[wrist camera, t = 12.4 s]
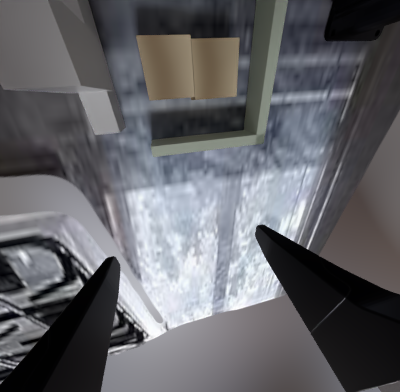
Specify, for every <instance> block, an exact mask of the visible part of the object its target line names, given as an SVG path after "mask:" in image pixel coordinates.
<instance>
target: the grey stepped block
mask: <svg viewBox="0 0 400 392" xmlns="http://www.w3.org/2000/svg"><path fill="white" fill-rule="evenodd" d="M0 84H1V86H2V87H3V89H4V90H20V91H39V92H58V93H78V94H79V96H80V99H81V101H82V103H83V106H84V108H85V111H86V113H87V116H88V118H89V121H90V123H91V125H92V128H93V130H94V133H95V135H99V134H110V133H120V132H121V131H122V130H123V129H124V128H126V126H125V123H124V119H123V116H122V113H121V109H120V106H119V102H118V99H117V96H116V92H115V89H114V86H113V82H112V79H111V75H110V72H109V69H108V65H107V62H106V59H105V55H104V52H103V49H102V45H101V42H100V38H99V35H98V32H97V28H96V25H95V22H94V18H93V15H92V11H91V8H90V5H89V1H88V0H0Z"/></svg>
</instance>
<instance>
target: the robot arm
mask: <svg viewBox="0 0 400 392" xmlns="http://www.w3.org/2000/svg"><path fill="white" fill-rule="evenodd" d="M398 21H400V0H335V1H334V5H333V9H332V12H331V16H330V19H329V23H328V26H327V30H326V33H325V40H326V41H372V40H376V39H377V38H378V37H379V36H380V34H381V32H382V30H383V28H384V26H386V25H389V24H392V23H395V22H398ZM331 32H332V35H331ZM255 237H256V239H257V241H258V243H259V245H260V248H261V250H262V252H263V254H264V256H265V258H266V260H267V261H268V263H269V265H270V266H271V268H272V270H273V271H274V273H275V275H276V276H277V278H278V280H279V281H280V283H281V285H282V286H283V288H284V290H285V291H286V293H287V295H288V296H289V298H290V300H291V301H292V303H293V305H294V306H295V308H296V310H297V311H298V313H299V314H300V316H301V318H302V320H303V321H304V323H305V325H306V326H307V328H308V330H309V331H310V332H311V335H312V336H313V338H314V340H315V341H316V343H317V345H318V346H319V348H320V350H321V351H322V353H323V354H324V356H325V358H326V360H327V361H328V363H329V365H330V366H331V368H332V370H333V371H334V373H335V375H336V376H337V378H338V380H339V381H340V383H341V385H342V386H343V388H344V389H345V391H346V392H360V391H363V390H368V389H372V388H376V387H378V388H379V389H380V391H381V392H400V294H397V293H393V292H390V291H388V290H385V289H383V288H381V287H379V286H377V285H375V284H373V283H371V282H368V281H367V280H364V279H362V278H360V277H358V276H356V275H354V274H352V273H350V272H348V271H346V270H344V269H342V268H340V267H338V266H336V265H335V264H333V263H331V262H329V261H327V260H326V259H324V258H322V257H319V256H318V255H317V254H315V253H313V252H311V251H309V250H308V249H306V248H304V247H302V246H301V245H299V244H297V243H295V242H294V241H292V240H290V239H288V238H286V237H285V236H283V235H281V234H279V233H278V232H276V231H274V230H272V229H270V228H269V227H267V226H265V225H258V226H257V227H256V232H255ZM119 280H120V264H119V262H118V260H117V259H116V257H114V256H113V257H108V258H106V259H105V261H104V262H103V263H102V264H101V266H100V267H99V268H98V269H97V270H96V272H95V273H94V274H93V275H92V277H91V278H90V279H89V280H88V281H87V283H86V284H85V285H84V286H83V287H82V289H81V290H80V291H79V292H78V294H77V295H76V296H75V297H74V298H73V300H72V301H71V302H70V303H69V305H68V306H67V307H66V308H65V309H64V311H63V312H62V313H61V314H60V316H59V317H58V318H57V319H56V320H55V322H54V323H53V324H52V325H51V327H50V328H49V330H47V331H46V333H45V334H44V335H43V336H42V337H41V339H40V340H39V341H38V342H37V343H36V345H35V346H34V347H33V348H32V349H31V350H30V352H29V353H28V354H27V355H26V356H25V358H24V359H23V360H22V361H21V362H20V363H19V364H18V365H17V367H16V368H15V369H14V370H13V371H12V372H11V373H10V374H9V376H8V377H7V378H6V379H5V380H4V381H3V382H2V383H1V384H0V392H101V386H102V381H103V375H104V370H105V365H106V359H107V354H108V349H109V343H110V338H111V332H112V327H113V322H114V316H115V311H116V306H117V300H118V293H119Z"/></svg>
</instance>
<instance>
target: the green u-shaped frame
mask: <svg viewBox="0 0 400 392" xmlns="http://www.w3.org/2000/svg"><path fill="white" fill-rule="evenodd" d="M287 3H288V0H256V9H255V19H254V29H253V39H252V50H251V60H250V70H249V81H248V91H247V101H246V111H245V122H244V130H239V131H230V132H220V133H211V134H201V135H192V136H182V137H173V138H163V139H154V140H152V143H151V150H152V154H153V157H157V156H165V155H173V154H182V153H190V152H198V151H206V150H214V149H222V148H230V147H239V146H247V145H255V144H263V143H264V137H265V131H266V125H267V120H268V114H269V108H270V102H271V96H272V90H273V85H274V79H275V73H276V67H277V61H278V55H279V50H280V44H281V38H282V32H283V26H284V20H285V15H286V9H287Z"/></svg>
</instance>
